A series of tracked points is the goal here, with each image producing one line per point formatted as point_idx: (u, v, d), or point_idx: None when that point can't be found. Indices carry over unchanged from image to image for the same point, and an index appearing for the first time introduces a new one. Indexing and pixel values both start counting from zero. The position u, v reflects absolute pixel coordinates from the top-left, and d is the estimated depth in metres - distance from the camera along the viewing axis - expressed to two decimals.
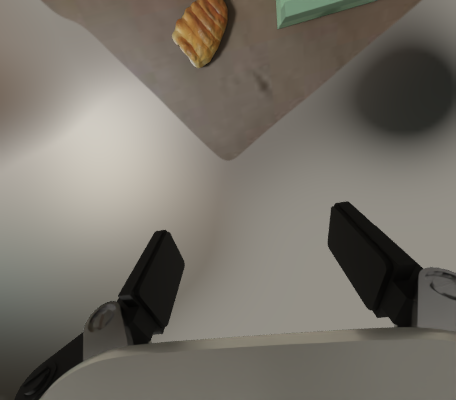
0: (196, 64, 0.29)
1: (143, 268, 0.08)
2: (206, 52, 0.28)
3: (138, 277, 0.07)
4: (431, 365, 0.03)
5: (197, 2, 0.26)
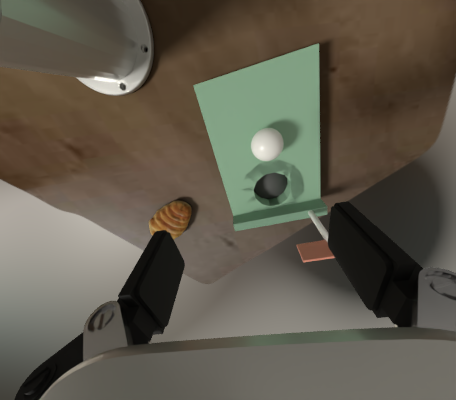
0: None
1: (143, 268, 0.08)
2: (176, 236, 0.35)
3: (138, 277, 0.07)
4: (431, 365, 0.03)
5: (164, 211, 0.32)
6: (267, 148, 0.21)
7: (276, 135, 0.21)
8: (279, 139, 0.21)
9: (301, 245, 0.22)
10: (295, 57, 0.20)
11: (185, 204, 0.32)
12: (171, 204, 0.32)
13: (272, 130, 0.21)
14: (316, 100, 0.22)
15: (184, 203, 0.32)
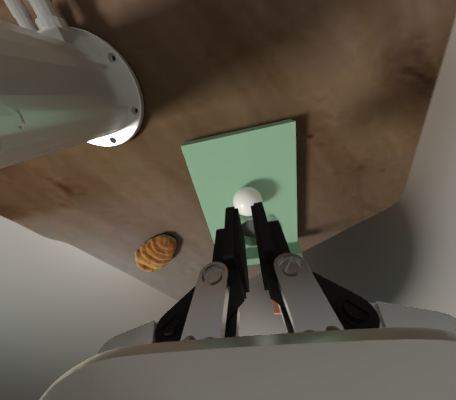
0: None
1: (233, 235, 0.08)
2: (161, 266, 0.36)
3: (234, 242, 0.08)
4: (431, 365, 0.03)
5: (150, 245, 0.33)
6: (246, 209, 0.23)
7: (255, 197, 0.23)
8: (258, 201, 0.23)
9: None
10: (274, 130, 0.22)
11: (170, 239, 0.34)
12: (156, 239, 0.33)
13: (252, 192, 0.23)
14: (293, 164, 0.24)
15: (169, 237, 0.34)
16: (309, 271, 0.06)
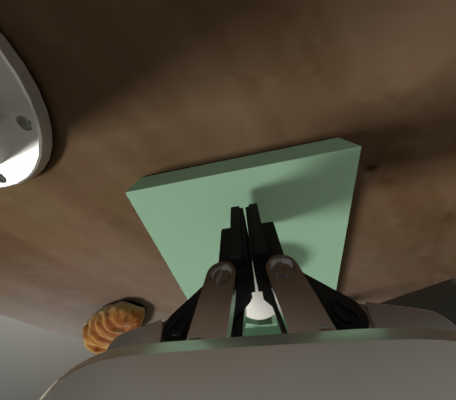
0: None
1: (240, 235, 0.08)
2: None
3: (241, 242, 0.08)
4: (431, 365, 0.03)
5: (101, 322, 0.22)
6: (256, 315, 0.12)
7: None
8: None
9: None
10: (314, 164, 0.11)
11: (132, 310, 0.22)
12: (111, 312, 0.22)
13: None
14: (342, 222, 0.13)
15: (131, 308, 0.22)
16: (301, 272, 0.06)
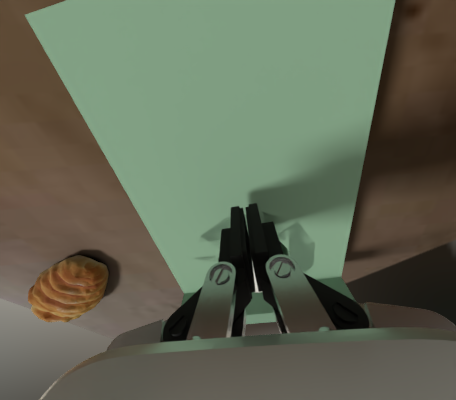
0: None
1: (240, 235, 0.08)
2: (83, 312, 0.20)
3: (241, 242, 0.08)
4: (431, 365, 0.03)
5: (47, 279, 0.17)
6: None
7: None
8: None
9: None
10: None
11: (88, 265, 0.18)
12: (60, 266, 0.17)
13: None
14: (370, 86, 0.08)
15: (86, 262, 0.18)
16: (301, 272, 0.06)
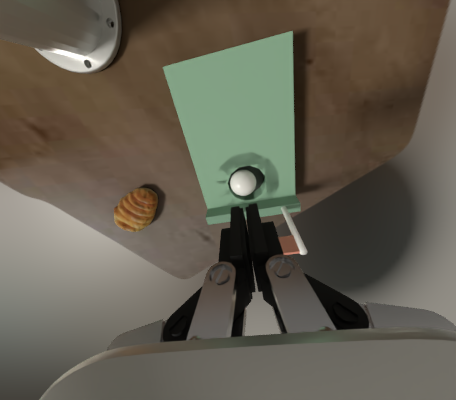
0: (137, 230, 0.34)
1: (240, 235, 0.08)
2: (143, 225, 0.33)
3: (241, 242, 0.08)
4: (431, 365, 0.03)
5: (127, 198, 0.30)
6: None
7: None
8: None
9: None
10: (268, 44, 0.19)
11: (149, 191, 0.31)
12: (134, 191, 0.30)
13: None
14: (290, 92, 0.21)
15: (148, 190, 0.31)
16: (300, 272, 0.06)
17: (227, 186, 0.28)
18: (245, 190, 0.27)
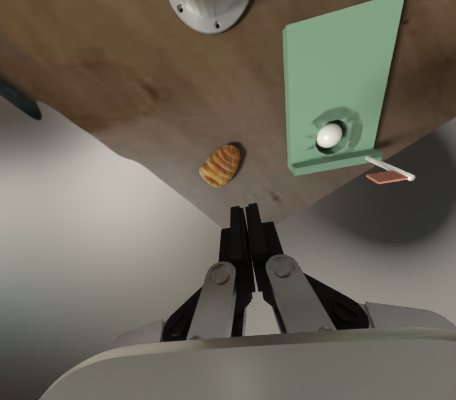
0: (218, 187, 0.38)
1: (240, 235, 0.08)
2: (226, 181, 0.37)
3: (241, 242, 0.08)
4: (431, 365, 0.03)
5: (217, 154, 0.34)
6: None
7: None
8: None
9: (371, 174, 0.26)
10: (382, 3, 0.23)
11: (236, 147, 0.34)
12: (223, 147, 0.34)
13: None
14: (391, 47, 0.25)
15: (235, 146, 0.34)
16: (301, 272, 0.06)
17: (314, 140, 0.32)
18: (334, 139, 0.30)
